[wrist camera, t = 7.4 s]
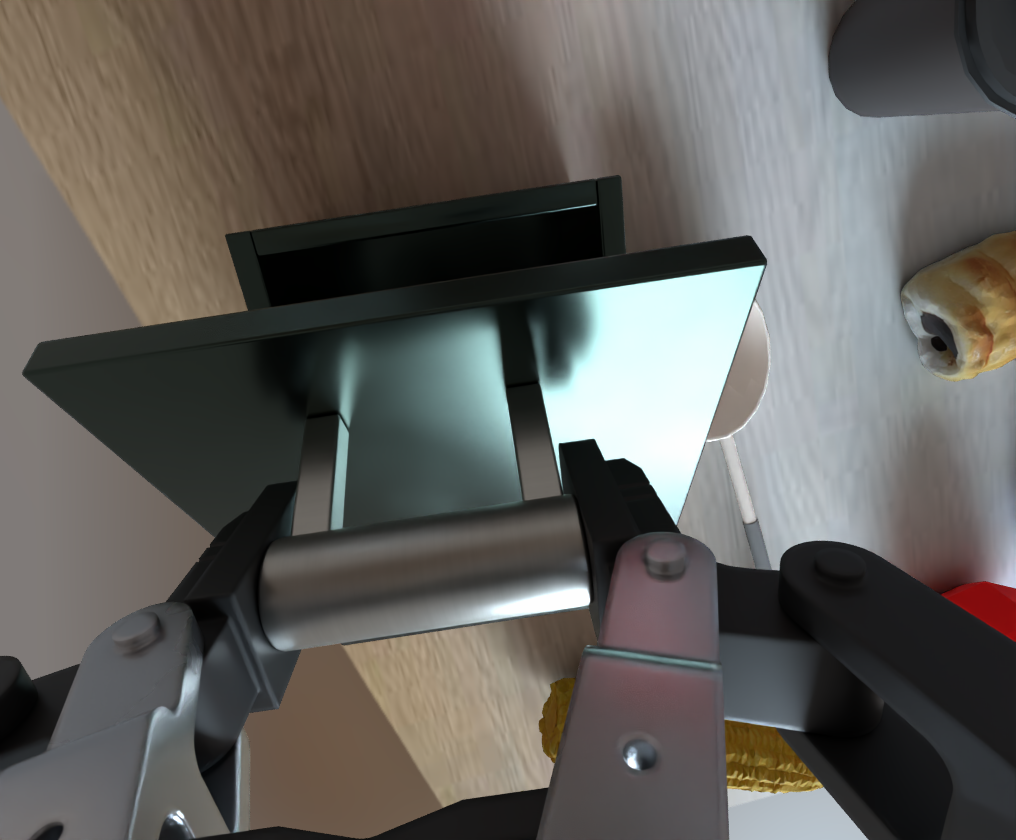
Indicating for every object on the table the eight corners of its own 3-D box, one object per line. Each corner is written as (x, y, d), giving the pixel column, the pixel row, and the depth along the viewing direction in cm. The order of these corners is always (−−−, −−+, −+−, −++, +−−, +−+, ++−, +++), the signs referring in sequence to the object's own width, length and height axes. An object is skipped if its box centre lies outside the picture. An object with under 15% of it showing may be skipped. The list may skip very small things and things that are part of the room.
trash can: (310, 226, 26) (223, 234, 17) (571, 187, 26) (621, 174, 17) (382, 509, 32) (345, 628, 23) (597, 476, 32) (647, 582, 23)
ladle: (720, 230, 27) (776, 250, 23) (788, 596, 41) (830, 650, 37) (603, 281, 27) (637, 311, 23) (710, 627, 41) (743, 684, 37)
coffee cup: (923, 168, 27) (1160, 144, 18) (771, 126, 26) (937, 79, 17) (1009, -30, 24) (1341, -180, 15) (843, -84, 23) (1088, -281, 14)
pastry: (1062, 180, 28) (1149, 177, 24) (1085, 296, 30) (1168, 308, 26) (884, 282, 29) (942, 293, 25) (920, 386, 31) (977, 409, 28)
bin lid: (37, 340, 10) (-134, 642, 7) (751, 232, 10) (917, 483, 7) (343, 626, 23) (335, 771, 20) (647, 579, 23) (686, 718, 20)
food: (531, 712, 38) (540, 797, 33) (551, 649, 36) (564, 727, 31) (806, 748, 41) (858, 833, 35) (838, 691, 39) (898, 770, 33)
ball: (1010, 632, 38) (1134, 729, 31) (898, 679, 39) (993, 784, 32) (989, 546, 35) (1119, 631, 28) (869, 600, 36) (965, 694, 29)
